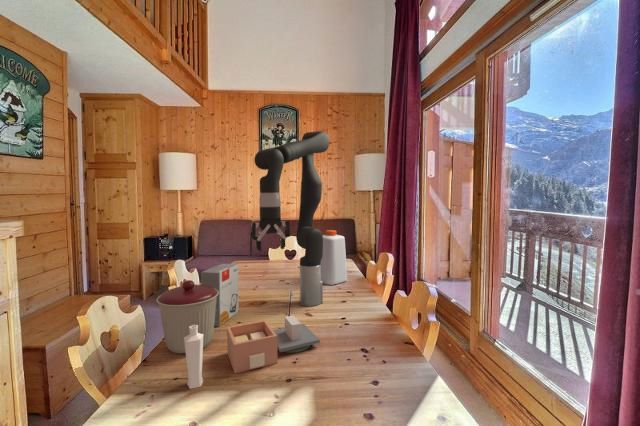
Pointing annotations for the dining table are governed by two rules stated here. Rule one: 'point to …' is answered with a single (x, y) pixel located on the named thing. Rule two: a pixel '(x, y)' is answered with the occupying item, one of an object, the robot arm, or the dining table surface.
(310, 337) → the lid
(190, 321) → the canister
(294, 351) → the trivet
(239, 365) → the crate
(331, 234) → the plastic bottle
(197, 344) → the perfume bottle
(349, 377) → the dining table surface
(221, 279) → the hard drive box
